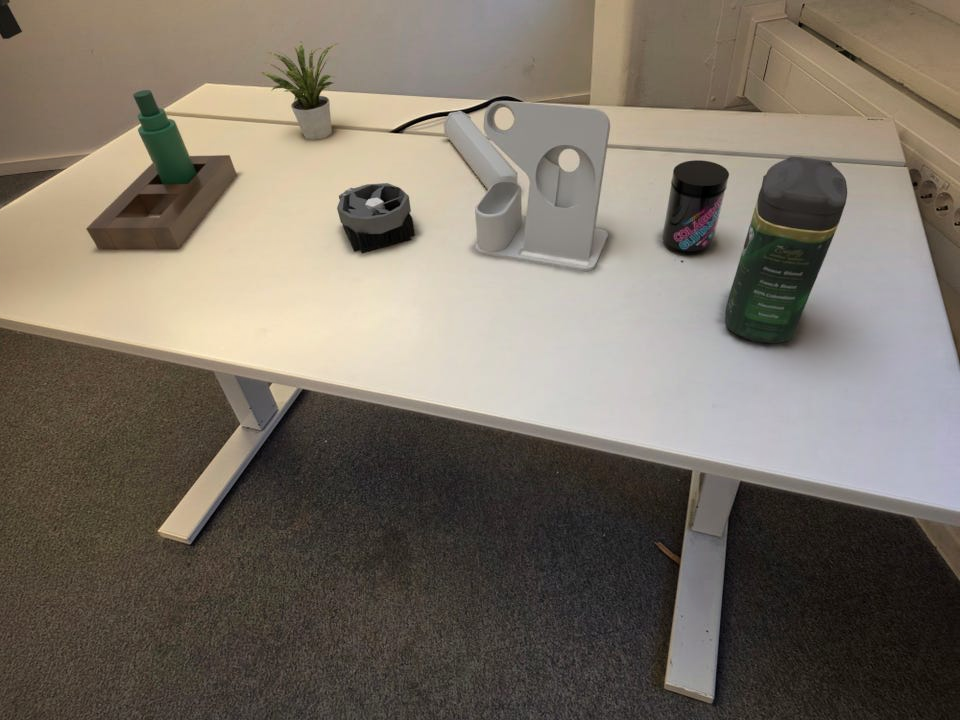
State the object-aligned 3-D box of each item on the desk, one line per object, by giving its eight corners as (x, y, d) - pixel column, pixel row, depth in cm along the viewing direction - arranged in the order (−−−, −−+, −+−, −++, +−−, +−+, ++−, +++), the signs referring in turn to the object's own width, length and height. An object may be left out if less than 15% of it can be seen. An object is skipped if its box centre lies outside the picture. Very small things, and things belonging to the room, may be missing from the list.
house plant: (334, 111, 125) (313, 24, 114) (372, 129, 117) (355, 38, 106) (272, 135, 118) (244, 45, 107) (309, 155, 111) (283, 61, 99)
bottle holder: (99, 251, 92) (85, 228, 89) (168, 177, 108) (158, 156, 105) (180, 251, 90) (168, 227, 87) (237, 176, 106) (229, 155, 104)
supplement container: (658, 253, 82) (670, 182, 75) (663, 227, 86) (675, 158, 79) (710, 260, 80) (728, 188, 73) (713, 232, 85) (730, 162, 77)
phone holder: (470, 253, 85) (459, 127, 72) (495, 216, 91) (489, 95, 79) (592, 274, 79) (602, 142, 67) (609, 233, 86) (622, 106, 74)
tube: (528, 173, 92) (474, 112, 109) (496, 169, 90) (446, 108, 107) (518, 205, 96) (467, 141, 113) (487, 202, 93) (440, 138, 110)
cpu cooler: (416, 206, 84) (345, 224, 82) (421, 241, 88) (354, 260, 85) (395, 175, 91) (329, 191, 89) (401, 208, 95) (338, 225, 93)
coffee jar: (793, 353, 67) (855, 202, 54) (719, 337, 69) (761, 190, 57) (798, 301, 73) (854, 154, 60) (729, 288, 76) (769, 145, 63)
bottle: (164, 204, 101) (115, 101, 89) (179, 187, 105) (133, 86, 93) (196, 203, 100) (150, 100, 88) (209, 187, 104) (168, 85, 92)
